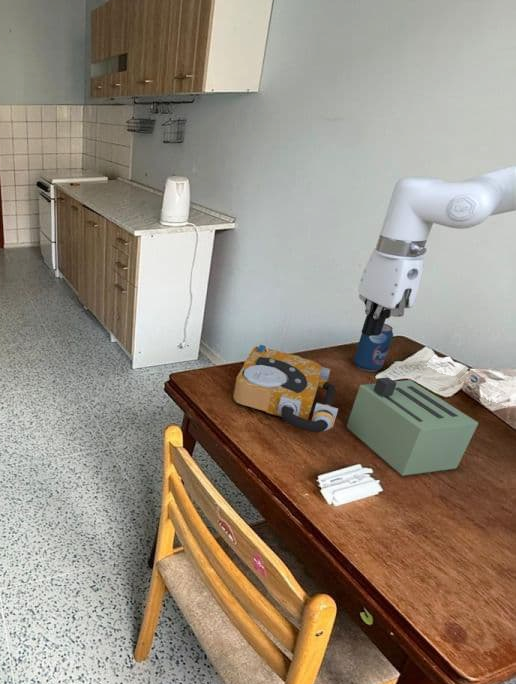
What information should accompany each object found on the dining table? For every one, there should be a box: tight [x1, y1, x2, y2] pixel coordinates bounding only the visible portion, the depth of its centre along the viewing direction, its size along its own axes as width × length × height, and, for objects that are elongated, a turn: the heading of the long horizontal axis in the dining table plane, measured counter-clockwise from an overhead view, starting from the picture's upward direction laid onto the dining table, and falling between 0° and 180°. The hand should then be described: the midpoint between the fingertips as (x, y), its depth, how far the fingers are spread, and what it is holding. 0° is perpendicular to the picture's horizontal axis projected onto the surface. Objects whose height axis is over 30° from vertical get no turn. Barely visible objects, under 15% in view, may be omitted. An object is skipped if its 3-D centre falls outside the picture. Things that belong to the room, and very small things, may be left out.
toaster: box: [346, 379, 479, 476], centre depth 96 cm, size 12×16×11 cm
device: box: [233, 344, 339, 433], centre depth 112 cm, size 23×8×30 cm
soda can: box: [353, 323, 394, 372], centre depth 126 cm, size 7×7×12 cm
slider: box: [374, 376, 397, 397], centre depth 96 cm, size 2×2×3 cm
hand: (370, 333), depth 98 cm, fingers closed
